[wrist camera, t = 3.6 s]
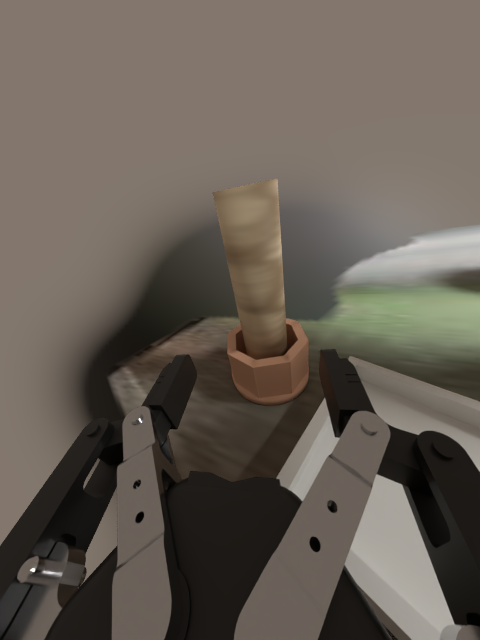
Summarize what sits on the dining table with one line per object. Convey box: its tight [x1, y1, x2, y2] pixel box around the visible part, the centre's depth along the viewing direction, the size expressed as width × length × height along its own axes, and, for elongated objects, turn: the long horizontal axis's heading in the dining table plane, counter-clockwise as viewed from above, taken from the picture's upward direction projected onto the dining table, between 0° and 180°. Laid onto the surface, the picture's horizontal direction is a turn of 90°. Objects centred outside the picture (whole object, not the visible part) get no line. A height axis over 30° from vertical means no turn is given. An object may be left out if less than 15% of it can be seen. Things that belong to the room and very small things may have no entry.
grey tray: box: [276, 356, 480, 640], centre depth 14 cm, size 16×16×3 cm
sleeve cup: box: [227, 318, 309, 406], centre depth 25 cm, size 10×10×6 cm
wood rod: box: [213, 179, 288, 360], centre depth 21 cm, size 5×5×20 cm
